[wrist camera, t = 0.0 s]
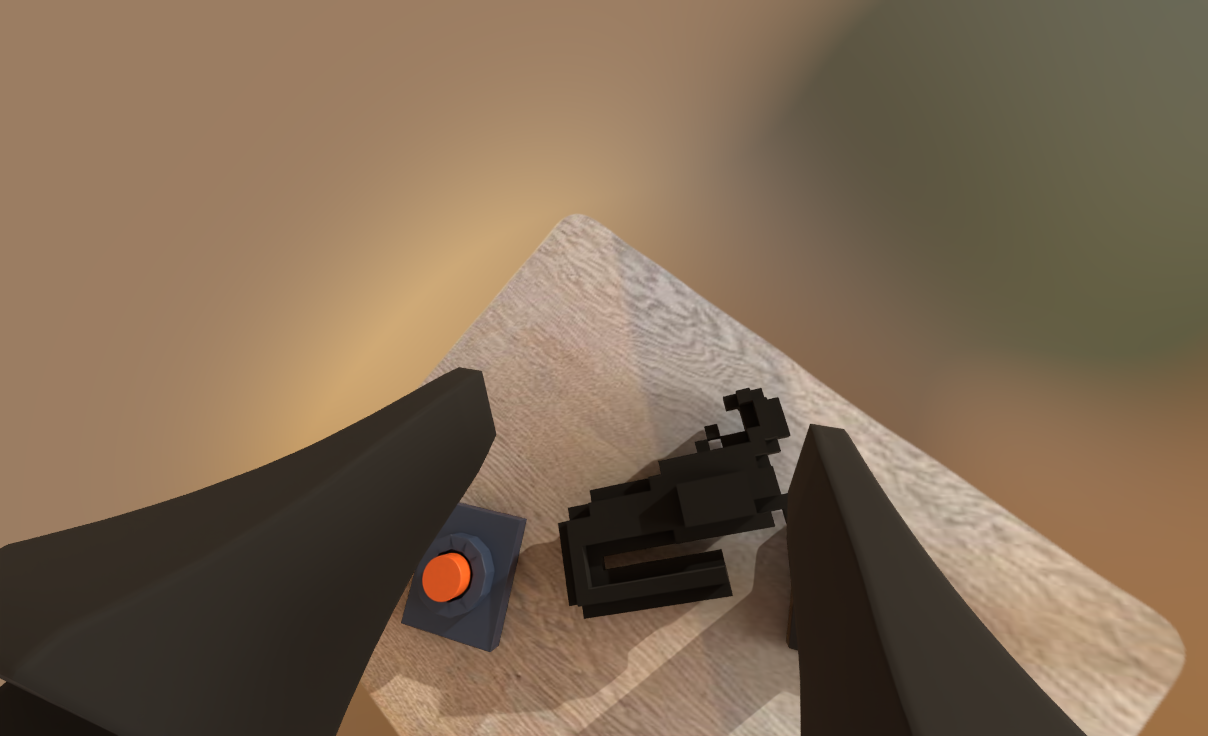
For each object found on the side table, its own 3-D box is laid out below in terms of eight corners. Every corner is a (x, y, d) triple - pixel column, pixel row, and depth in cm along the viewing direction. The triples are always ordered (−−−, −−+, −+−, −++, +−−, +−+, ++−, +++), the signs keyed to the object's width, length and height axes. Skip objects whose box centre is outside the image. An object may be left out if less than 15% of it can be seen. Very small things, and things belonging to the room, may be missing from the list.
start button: (465, 602, 39) (454, 607, 37) (428, 591, 40) (416, 595, 38) (475, 558, 39) (466, 561, 38) (439, 548, 40) (428, 551, 39)
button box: (498, 645, 40) (480, 660, 37) (411, 617, 42) (387, 629, 39) (526, 518, 42) (512, 521, 39) (443, 498, 45) (422, 499, 41)
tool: (537, 433, 39) (562, 627, 34) (777, 377, 36) (844, 584, 31) (558, 442, 44) (582, 612, 39) (770, 394, 41) (827, 573, 36)
